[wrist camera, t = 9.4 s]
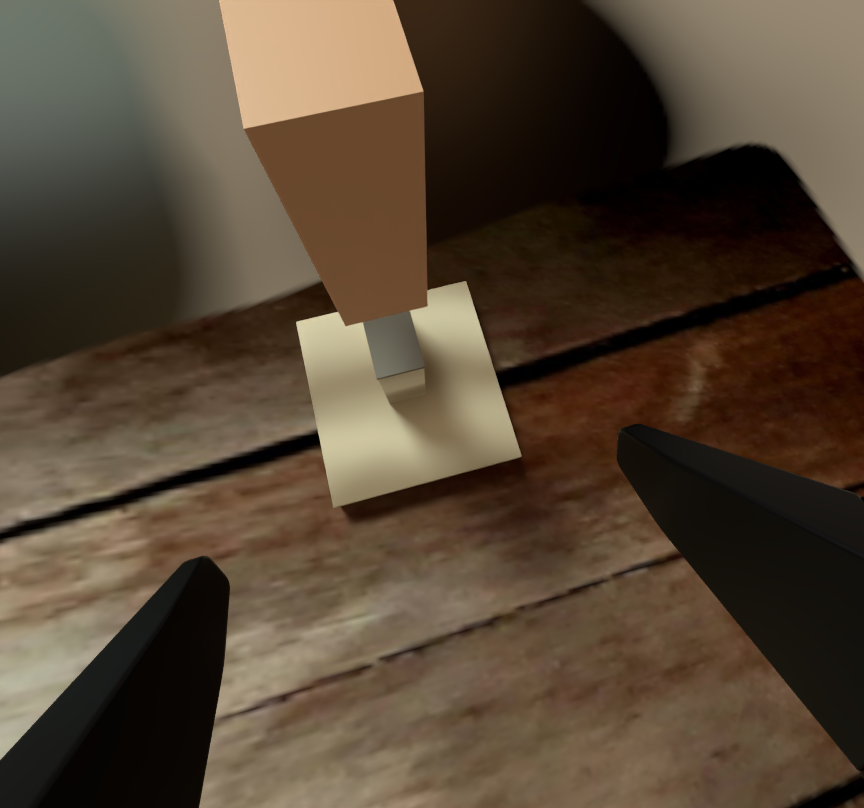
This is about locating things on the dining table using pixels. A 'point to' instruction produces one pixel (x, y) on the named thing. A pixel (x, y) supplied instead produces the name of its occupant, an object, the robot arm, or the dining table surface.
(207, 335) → the dining table surface
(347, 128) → the peach rectangular post
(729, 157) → the dining table surface
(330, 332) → the cream square base plate
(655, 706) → the dining table surface
